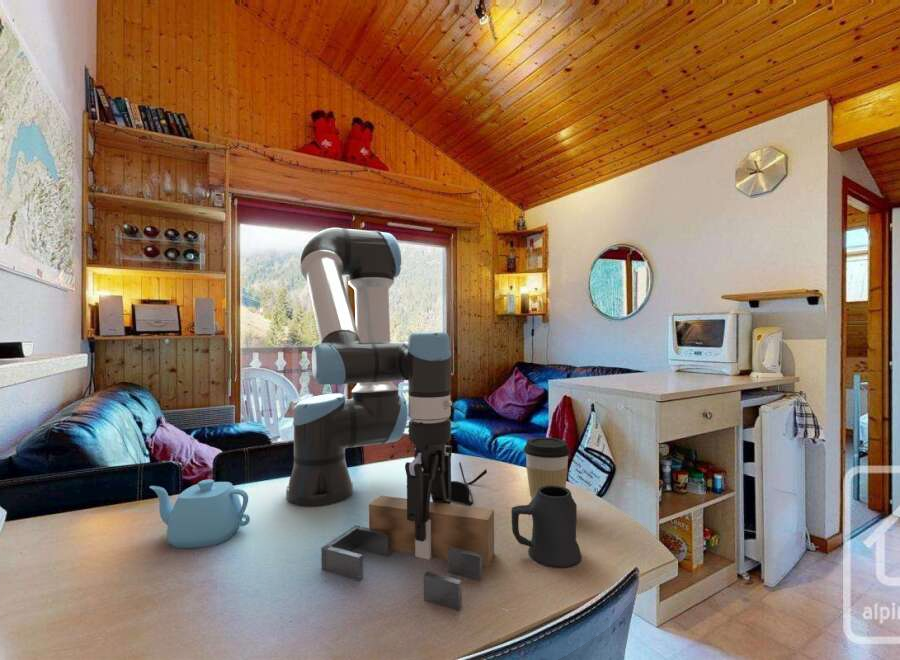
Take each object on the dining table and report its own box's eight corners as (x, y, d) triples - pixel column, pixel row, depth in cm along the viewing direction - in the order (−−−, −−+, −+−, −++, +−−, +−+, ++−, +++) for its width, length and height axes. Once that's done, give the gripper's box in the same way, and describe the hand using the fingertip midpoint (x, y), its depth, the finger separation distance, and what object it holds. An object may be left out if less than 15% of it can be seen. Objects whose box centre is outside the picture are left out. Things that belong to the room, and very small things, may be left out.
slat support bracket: (321, 572, 72) (321, 547, 72) (355, 547, 80) (355, 525, 80) (359, 583, 69) (358, 557, 69) (390, 556, 77) (390, 533, 77)
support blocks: (423, 602, 64) (423, 574, 64) (450, 571, 72) (450, 546, 72) (458, 612, 62) (458, 584, 62) (482, 579, 70) (481, 553, 70)
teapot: (166, 472, 90) (259, 468, 92) (166, 525, 90) (259, 520, 92) (129, 496, 77) (237, 490, 79) (130, 557, 77) (238, 550, 79)
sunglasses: (503, 490, 108) (503, 470, 108) (466, 509, 97) (466, 486, 97) (451, 476, 119) (451, 457, 119) (413, 491, 108) (413, 471, 108)
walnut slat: (369, 548, 80) (368, 504, 80) (380, 537, 84) (380, 495, 84) (488, 568, 73) (488, 519, 73) (494, 555, 77) (493, 509, 77)
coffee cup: (566, 503, 99) (566, 437, 99) (574, 523, 89) (574, 448, 89) (522, 502, 100) (522, 436, 100) (525, 521, 90) (525, 448, 90)
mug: (569, 540, 82) (569, 480, 82) (590, 567, 73) (590, 499, 73) (506, 545, 81) (505, 483, 81) (519, 572, 72) (519, 503, 72)
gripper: (424, 431, 69) (425, 580, 69) (469, 411, 85) (470, 532, 85) (383, 427, 72) (384, 569, 72) (434, 408, 88) (435, 525, 88)
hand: (430, 549), depth 79 cm, fingers closed on walnut slat, 5 cm apart
